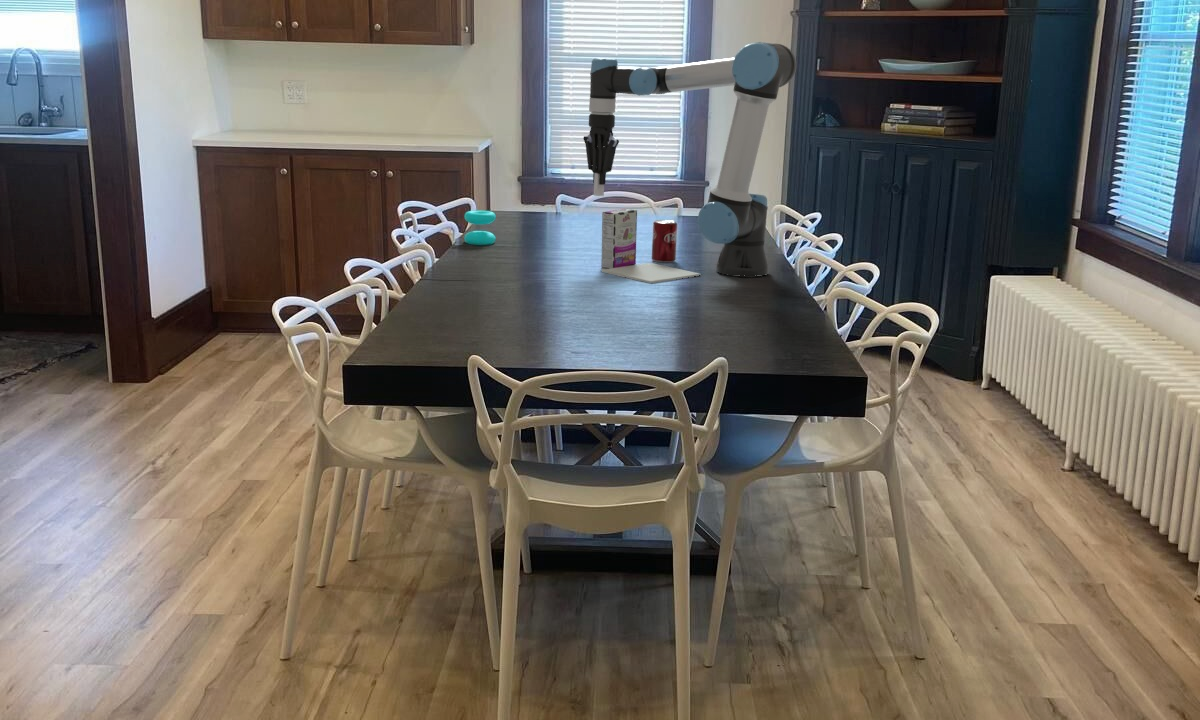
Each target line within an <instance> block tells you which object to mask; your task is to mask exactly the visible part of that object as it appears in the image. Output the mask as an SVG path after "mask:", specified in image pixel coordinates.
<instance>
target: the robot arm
mask: <svg viewBox="0 0 1200 720" xmlns="http://www.w3.org/2000/svg"><path fill="white" fill-rule="evenodd" d="M796 72H797V60H796V56H795V54H794V53H793V51H792V50H791V49H790V48H789V47H787V46H786V45H784V44H781V43H769V42H763V41H762V42H761V41H758V42H753V43H749V44H746V45H745V46H743V47H742V48H741V49H739V50H738V52H737V53H736V55H735V56H734V57H729V58H722V59H712V60H705V61H704V60H703V61H698V62H697V61H696V62H689V63H681V64H673V65H665V66H664V65H663V66H655V67H654V66H653V67H648V66H647V67H646V66H622V65H621V66H620V65H618V60H617V58H606V57H603V58H602V57H595V58H593V59H592V60H591V66H590V73H589V75H590V90H589V92H590V93H589V107H588V111H589V113H590V114H589V115H588V126H589V128H590V130H589V134H588V135H586V136H583V138H582V139H583V142H584V144H585V151H586V160H587V168H588V170H590V171H592V173H593V175H592V177H593V178H592V183H593V196H595V197H600V196H601V197H604V195H605V185H606V182H607V181H606V178H607V177H606V176H607V173H609V172H612V170H613V169H612V168H613V164H614V160H615V155H616V149H617V147H618V145H619V143H620V139H616V138H615V137H614V132H613V129H614V128H615V126H616V125H615V124H616V117H615V116H616V115H615V113H616V99H617V94H623V95H624V94H625V95H637V96H650V95H664V94H667V93H668V94H669V93H676V92H686V91H694V90H695V91H696V90H704V89H705V90H706V89H713V88H725V87H732V86H733V93H734V94H735V96H736V98H737V99H736V102H735V107H734V110H733V111H734V112H733V116H732V120H731V125H730V128H729V134H728V137H727V142H726V145H725V151H724V155H723V160H722V164H721V166H720V167H721V168H720V173H719V176H718V181H717V185H715V186H714V187H713V188H711V189H710V192H709V196H708V198H707V199H708V201H707V203H706V204H704V205H703V206H702V207H701V209H700V210H699V212H698V215H697V226H698V230H699V231H700V233H701V234H702V236H703V237H704V238H705V239H706V240H707V241H708V242H711V243H714V244H717V245H718V244H723V246H722V248H721V251H720V254H719V257H718V260H717V261H716V265H715V272H716V271H717V272H716V273H718V272H719V274H720V273H722V274H721V275H724V274H728V275H727V276H729V275H740V276H744V275H745V276H755V275H756V276H757V275H765V274H768V275H769V270H770V267H769V263H768V258H767V254H766V250H765V242H766V241H765V238H766V229H767V227H766V226H767V217H768V216H767V214H768V198H767V196H766V195H764V194H757V193H756V194H755V193H749V189H750V185H751V180H752V177H753V172H754V169H755V164H756V160H757V156H758V153H759V147H760V143H761V140H762V136H763V131H764V127H765V122H766V118H767V115H768V110H769V107H770V104H772V103H774V102H775V101H776V100H777V99H778V93H779V88H782V87H784V86H786V85H787V84H789V83H790V82H791V80H793V78H794V77H795V74H796Z"/></svg>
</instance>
